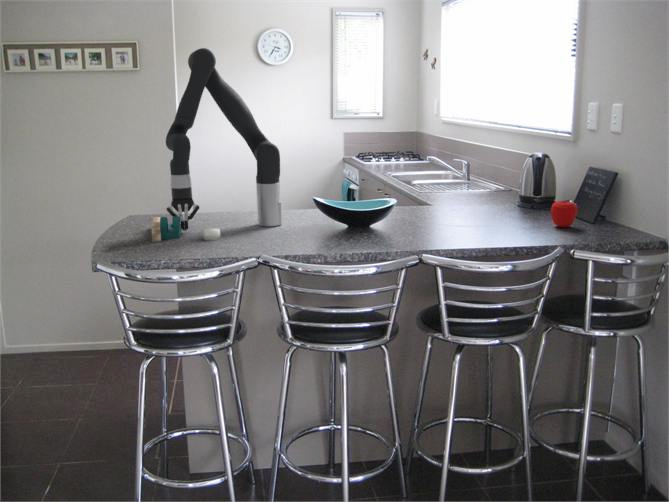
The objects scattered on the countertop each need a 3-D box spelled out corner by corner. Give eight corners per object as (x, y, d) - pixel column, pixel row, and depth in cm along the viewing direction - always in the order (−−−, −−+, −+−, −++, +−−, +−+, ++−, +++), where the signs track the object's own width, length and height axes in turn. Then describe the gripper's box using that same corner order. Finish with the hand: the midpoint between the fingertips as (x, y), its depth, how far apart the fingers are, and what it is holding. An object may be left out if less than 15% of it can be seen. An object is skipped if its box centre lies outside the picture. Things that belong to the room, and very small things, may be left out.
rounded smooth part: (220, 236, 253) (219, 227, 252) (221, 240, 246) (220, 230, 246) (202, 237, 251) (202, 228, 250) (203, 241, 245) (202, 231, 244)
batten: (162, 227, 268) (161, 216, 266) (160, 241, 245) (159, 229, 244) (154, 228, 267) (153, 216, 266) (152, 241, 244) (151, 229, 243)
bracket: (179, 238, 250) (178, 218, 248) (161, 239, 249) (159, 219, 247) (182, 228, 267) (181, 209, 265) (165, 229, 266) (163, 209, 264)
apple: (545, 227, 259) (547, 199, 256) (556, 223, 266) (558, 196, 263) (569, 230, 253) (572, 202, 250) (580, 226, 259) (582, 199, 257)
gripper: (198, 183, 258) (201, 227, 263) (163, 185, 256) (167, 229, 260) (199, 186, 251) (202, 231, 256) (163, 188, 249) (167, 233, 253)
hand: (184, 230), depth 258 cm, fingers closed
